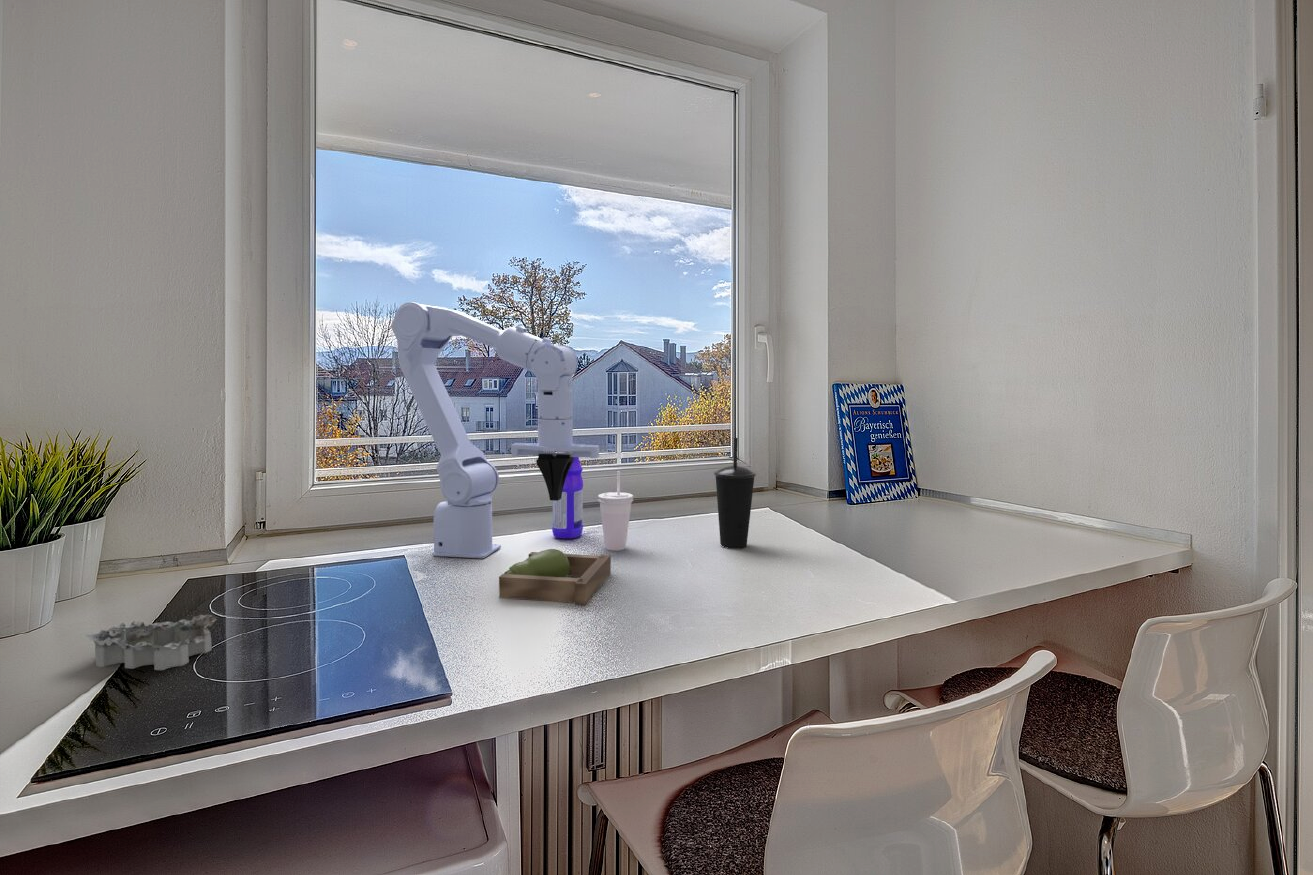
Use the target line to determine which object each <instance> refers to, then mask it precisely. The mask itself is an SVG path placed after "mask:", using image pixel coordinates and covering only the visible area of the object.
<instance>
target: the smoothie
mask: <svg viewBox="0 0 1313 875" xmlns="http://www.w3.org/2000/svg"><path fill="white" fill-rule="evenodd" d="M597 497H598V499H597V502H599V507H600V509H599V510H600V517H601V526H602V532H603V541H604V548H605V550H607V551H615V552H616V551H617V552H618V551H624V550H626V548H627V547H626V545H627V541H628V540H627V539H628V531H629V523H630V515H631V511H632V510H631V508H632V503H633V502H634V494H632V493H630V492H629V493H628V492H621V471H620V470H617V471H616V491H614V492H602V493H599V494H598V496H597Z"/></svg>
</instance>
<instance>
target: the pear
mask: <svg viewBox="0 0 1313 875" xmlns="http://www.w3.org/2000/svg"><path fill="white" fill-rule="evenodd" d="M565 554H566V553H564V552H563V551H562V550H560V549H558V548H557V549H556V548H549V549H544V550H541V551H538V553H535V554H533V555H531V556H530V557H527V558H526V559H524V560H523V561H519V562H516V563H514V564H512V565H511V566H510V567H508V570H506V571H504V573H503V574H515V575H531V576H548V577H564V578H568V577H569V575H568V574H569V570H570V565H569V561H568V558H567V556H566V555H565Z"/></svg>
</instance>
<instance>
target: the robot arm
mask: <svg viewBox="0 0 1313 875" xmlns="http://www.w3.org/2000/svg"><path fill="white" fill-rule="evenodd" d="M390 328H391V330H392V332H393V334H394V336H395V339H396V344H397V346H396V347H397V356H398V358H397V359H398V365H399V368H400V371H401V372H402V375H403V377H404V380H405V381H406V383H407V385H408V387H409V389H410V391H411V395H413V396H412V397H413V398H414V400H415V402H416V405H417V406H418V409H419V411H420V413H421V415H422V419H424V421H425V422H424V423H425V424H426V426H427V428H428V430H429V433H430V435H431V437H432V439H433V442H434V444H435V446H436V447H437V450H438V452H439V454H440V458H439V460H438V462H437V465H436V467H435V468H436V472H437V473H438V474H437V475H438V477H439V488H440V492H441V494H442V496H443V497H444V499H446V500H445V501H441V502H439V503H438V504H437V506H436V508H435V509H434V513H433V514H434V515H433V522H432V523H433V552H431V555H432V556H433V557H434V556H435V557H453V558H467V559H468V558H470V559H471V558H472V559H485V558H486V557H488V556H489V555H491V554H492V553H494V552H496V551H497V550H498V549H500V548H501V547H502V545H501V544H499V543H498V544H497V543H493V493H494V492H495V491H496V490H497V489H498V486H499V484H500V476H499V472H498V469H497V468H496V466H494V465H493V464H492V463H491V462H490V461H489V460H488V459H487V458H486V456H485V453H484V452H483V451H482V450H481V449H479V448H478V447H477V446H475V445H474V444H473V443H472V442H471V440H470V438H469V436H468V434H467V431H466V430H465V427H464V424H463V423H462V421H461V419H460V417H459V414H458V412H457V410H456V407H455V405H454V404H453V401H452V399H451V396H450V394H449V392H448V390H447V388H446V386H445V384H444V382H443V380H442V377H441V375H440V373H439V371H438V369H437V367H436V365H435V363H436V361H437V358H438V357H439V355H440V354H441V353H442V351H443V350H444V348H445V347H446V346H447V345H448V343H450V341H451V340H452V338H453V337H460V336H462V337H464V338H467V339H470V340H472V341H475V342H477V343H479V344H483V345H486V346H488V347H491V348H494V350H495V352H496V355H497V356H498V358H499V359H500V360H502V361H506V362H508V363H509V364H512V365H515V366H517V367H519V368H522V369H524V370H526V371H527V372H528V371H529V372H531V373H533V375H534V377H535V378H536V380H537V442H534V443H533V442H528V443H527V442H525V443H524V442H521V443H520V442H515V443H512V444H511V456H513V457H515V456H516V457H517V456H529V457H530V456H534V457H538V458H537V459H536V461H535V462H536V466H537V467H538V469H539V471H540V473H541V475H542V477H543V480H544V482H545V485H546V488H547V492H548V498H549V501H552V502H553V501H558V500H560V499H561V496H562V490H563V486H564V483H565V479H566V477H567V474H568V472H569V469H570V467H571V465H572V463H573V461H574V458H573V457H579V458H590V459H598V458H599V457H600V445H596V444H595V445H594V444H582V443H574V440H573V437H574V436H573V435H574V433H573V429H574V427H573V424H574V423H573V422H574V420H573V419H574V418H573V417H574V416H573V415H574V414H573V411H574V410H573V408H574V406H573V404H574V403H573V401H574V400H573V399H574V398H573V395H574V394H573V376H574V375H575V374H576V372H577V370H578V367H579V360H578V357H577V355H576V353H575V351H574V350H572V349H571V348H569V347H568V346H567V345H565V344H557V345H556V344H555V345H553V344H552V339H551V338H548V337H546V336H545V337H543V338H541V337H538V336H536V335H533V334H531V333H529V332H527V331H528V328H526V327H524V326H521V325H520V326H519V325H517V326H516V327H514V326H510V327H508V328H505V329H503V330H502V329H499V328H497V327H495V326H493V325H491V324H489V323H486V322H485V321H482V320H480V319H478V318H476V317H474V316H471V315H469V314H467V313H466V312H462V311H460V310H455V309H449V308H447V307H445V306H435V305H434V306H433V305H427V304H421V303H420V304H419V303H418V302H416V301H415V302H413V301H407V302H404V303H403V304H401V305H400V306H399V307H398V309H397V310H396V312H395V315H394V317H393V321H392V323H391V326H390ZM557 452H565V453H557Z"/></svg>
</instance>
